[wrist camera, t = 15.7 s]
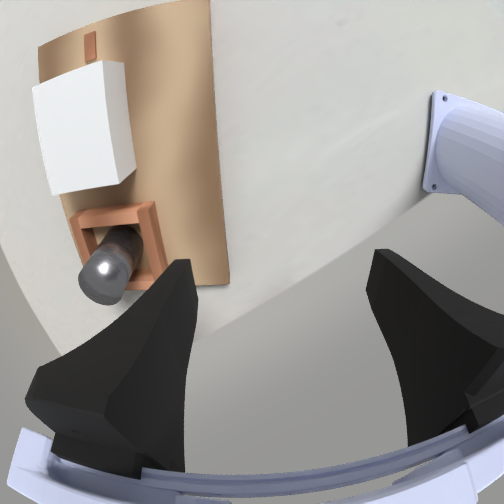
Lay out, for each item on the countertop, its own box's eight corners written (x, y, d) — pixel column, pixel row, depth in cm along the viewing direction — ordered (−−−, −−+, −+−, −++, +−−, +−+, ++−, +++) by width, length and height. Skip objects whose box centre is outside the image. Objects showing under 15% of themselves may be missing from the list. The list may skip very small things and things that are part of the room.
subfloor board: (210, 1, 12) (205, -11, 10) (229, 276, 23) (228, 297, 21) (45, 47, 12) (25, 47, 10) (95, 280, 23) (85, 298, 20)
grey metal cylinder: (144, 261, 21) (125, 308, 16) (109, 257, 20) (84, 301, 16) (142, 226, 19) (118, 269, 15) (104, 223, 19) (73, 263, 14)
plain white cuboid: (124, 62, 13) (102, 60, 10) (136, 168, 17) (119, 183, 14) (58, 83, 13) (32, 87, 10) (74, 179, 17) (52, 195, 14)
